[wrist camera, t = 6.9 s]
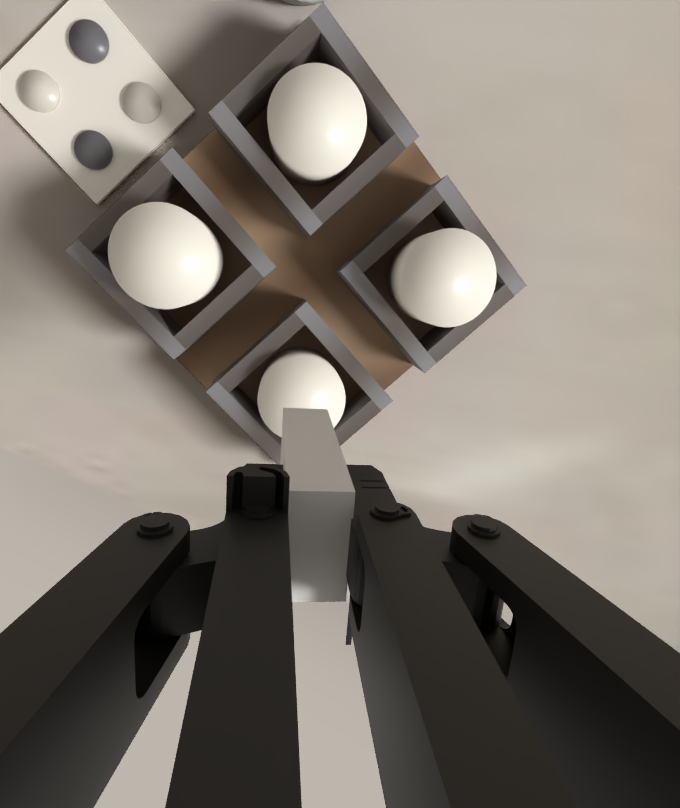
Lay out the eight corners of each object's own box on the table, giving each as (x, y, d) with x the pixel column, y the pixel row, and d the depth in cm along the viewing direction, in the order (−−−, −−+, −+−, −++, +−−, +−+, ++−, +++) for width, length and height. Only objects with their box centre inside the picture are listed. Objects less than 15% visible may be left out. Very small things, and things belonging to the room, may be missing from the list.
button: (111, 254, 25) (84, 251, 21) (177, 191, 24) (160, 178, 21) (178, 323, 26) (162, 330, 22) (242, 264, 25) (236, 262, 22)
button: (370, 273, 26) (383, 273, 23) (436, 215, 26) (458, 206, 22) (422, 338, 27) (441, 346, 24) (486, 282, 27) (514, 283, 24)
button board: (86, 260, 27) (54, 257, 23) (325, 32, 26) (331, -10, 22) (288, 465, 31) (289, 491, 27) (504, 278, 30) (537, 279, 26)
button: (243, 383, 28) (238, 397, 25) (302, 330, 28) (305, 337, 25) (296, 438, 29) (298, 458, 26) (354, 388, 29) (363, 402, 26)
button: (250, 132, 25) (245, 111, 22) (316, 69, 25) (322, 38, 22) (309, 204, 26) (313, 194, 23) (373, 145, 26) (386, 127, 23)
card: (-12, 88, 25) (-18, 84, 24) (89, -16, 24) (85, -22, 24) (98, 204, 27) (94, 203, 26) (195, 111, 26) (194, 108, 26)
